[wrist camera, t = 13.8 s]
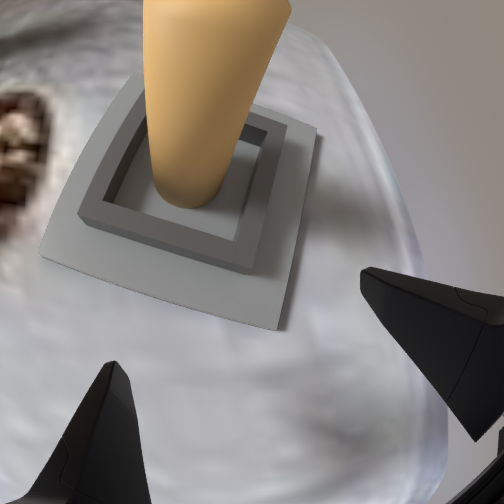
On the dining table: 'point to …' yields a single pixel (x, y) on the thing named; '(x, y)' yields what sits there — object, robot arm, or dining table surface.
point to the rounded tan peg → (202, 86)
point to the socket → (186, 216)
